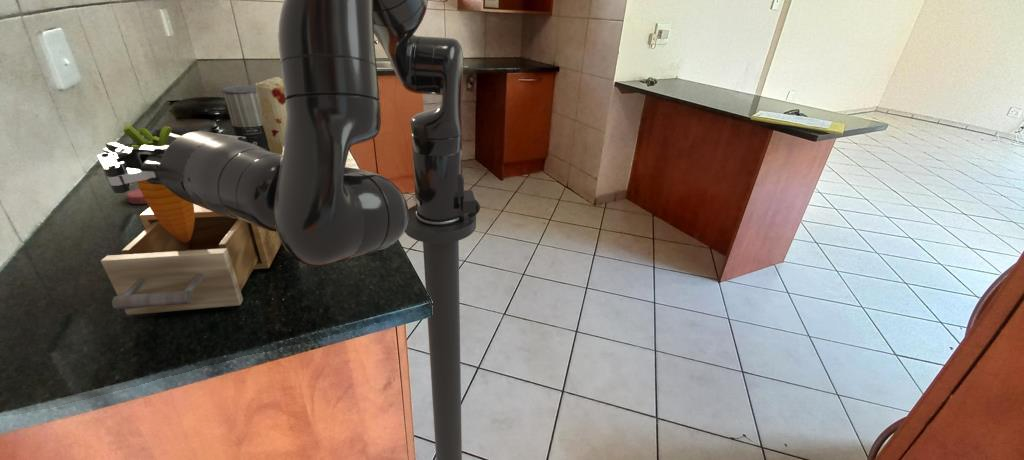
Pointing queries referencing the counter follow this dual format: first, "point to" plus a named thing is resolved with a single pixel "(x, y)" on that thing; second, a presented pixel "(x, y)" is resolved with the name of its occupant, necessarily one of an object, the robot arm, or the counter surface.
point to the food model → (273, 111)
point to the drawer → (184, 267)
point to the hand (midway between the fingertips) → (140, 146)
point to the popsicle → (136, 197)
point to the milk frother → (246, 114)
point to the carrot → (164, 192)
